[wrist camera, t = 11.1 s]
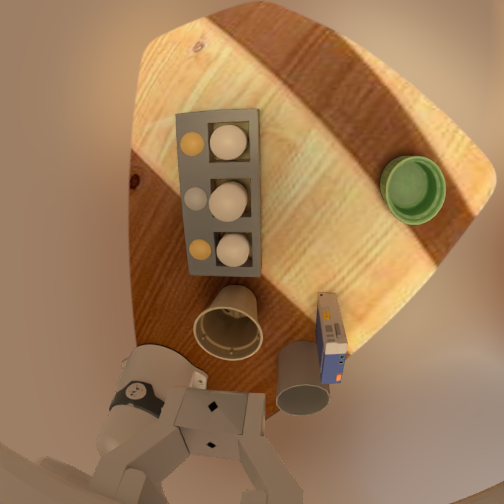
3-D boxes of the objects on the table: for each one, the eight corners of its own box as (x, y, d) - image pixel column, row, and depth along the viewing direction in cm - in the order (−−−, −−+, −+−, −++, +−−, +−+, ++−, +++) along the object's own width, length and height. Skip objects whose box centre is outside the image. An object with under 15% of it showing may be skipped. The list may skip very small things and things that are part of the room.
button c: (248, 156, 37) (245, 159, 34) (216, 157, 38) (210, 160, 35) (248, 124, 35) (244, 124, 32) (215, 125, 36) (209, 126, 33)
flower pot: (199, 311, 48) (185, 345, 41) (217, 264, 45) (204, 296, 37) (253, 332, 49) (247, 368, 41) (276, 288, 45) (274, 323, 37)
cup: (292, 334, 49) (293, 378, 40) (333, 349, 49) (340, 392, 40) (270, 365, 52) (267, 408, 43) (309, 378, 53) (311, 420, 44)
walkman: (331, 331, 48) (341, 385, 37) (315, 332, 48) (321, 386, 37) (335, 291, 44) (349, 343, 34) (318, 291, 45) (326, 344, 34)
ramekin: (364, 196, 38) (373, 205, 34) (393, 139, 35) (406, 142, 31) (413, 225, 39) (425, 236, 35) (441, 172, 35) (456, 179, 31)
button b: (248, 213, 38) (245, 221, 35) (216, 213, 38) (210, 221, 35) (247, 180, 36) (244, 186, 33) (214, 181, 37) (207, 187, 34)
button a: (251, 256, 43) (248, 267, 40) (222, 255, 43) (217, 266, 40) (250, 228, 41) (248, 237, 38) (220, 228, 42) (215, 237, 39)
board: (261, 267, 44) (260, 277, 41) (195, 265, 45) (189, 275, 42) (259, 109, 35) (257, 108, 32) (183, 114, 36) (174, 113, 33)
